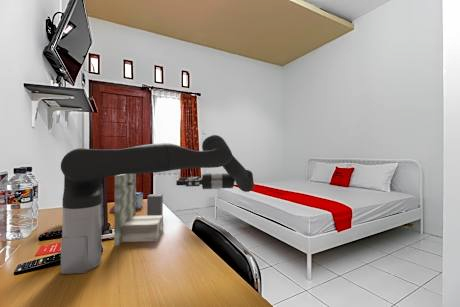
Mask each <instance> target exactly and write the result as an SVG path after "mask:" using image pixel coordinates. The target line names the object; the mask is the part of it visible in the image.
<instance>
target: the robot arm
mask: <svg viewBox="0 0 460 307" xmlns="http://www.w3.org/2000/svg"><path fill="white" fill-rule="evenodd" d="M201 148H202V149H201V150H193V149H189V148H186V147H184V146H182V145H178V144H175V143H169V142H168V143H166V142H165V143H164V142H162V143H149V144H141V145H136V146H131V147H126V148H119V149H97V148H86V147H85V148H84V147H81V148H75V149H73V150H70V151H69V152H67V153H66V154H65V155H64V157H62V160H61V162H60V170H61V172H62V174H63V175H64V176H63V177H64V181H63V186H64V187H63V196H62V230H61V231H62V233H61V234H62V235H61V239H60V275H70V274H85V273H87V272H88V271H90V270H92V269H95V268H97V267H98V266H99V265H100V264H101V263H102V232H101V213H102V178H104V177H107V178H108V177H113V176H114V177H115V176H117V175H120V174H136V175H139V174H154V173H161V172H162V173H163V172H171V171H176V170H185V169H207V168H208V169H209V168H210V169H211V168H219V167H223V169H224V170H225V172H226V173H218V172H217V173H215V172H211V173H210V172H208V173H206V172H205V173H202V175H201V176H188V177H179V178H178V180H176V186H185V187H200V185H202V186H201V188H202V190H220V189H233V188H234V186H235V183H236V186H237V188H239V190H241V191H242V192H243V193H244V192H245V193H249V192H251V191H253V189H254V188H255V183H254V174H253V172H252V171H251V170H249V169H246V168H245V167H244V166H243V164H242V163H240V162H239V160H238V159H237V158H235V156H234V155H233V153H232V150H231V149H230V147H229V145H228V143H227V141H226V140H225V139H224V138H223V137H222V136H220V135H217V134H211V135H208V137H206V138H205V139H203V141H202V144H201Z"/></svg>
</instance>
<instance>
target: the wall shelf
mask: <svg viewBox="0 0 460 307" xmlns="http://www.w3.org/2000/svg"><path fill="white" fill-rule="evenodd" d="M136 193H137V174H120V175H114V205H115V211H114V223H113V224H114V235H113V238H114V239H113V240H114V241H113V242H114V243H113V244H114V245H113V246H114V247H115V246H116V247H117V246H120V245H121V244H122V243H136V242H137V243H139V242H158V239H159V237H160V235H161V234H162V232H163V231H164V214H163V215H147V214H146V215H144V214H143V215H136V214H137V213H136V211H137V209H136Z"/></svg>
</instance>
